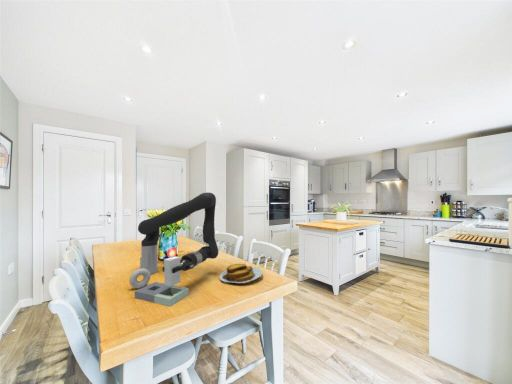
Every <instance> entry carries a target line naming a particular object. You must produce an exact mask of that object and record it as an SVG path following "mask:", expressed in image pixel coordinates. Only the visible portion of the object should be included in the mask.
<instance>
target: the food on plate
mask: <svg viewBox="0 0 512 384" xmlns="http://www.w3.org/2000/svg"><path fill="white" fill-rule="evenodd" d="M262 275H263V270H262V269H261V268H259V267H254V266H248V265H247V264H244V263H233V264H230V265H228V266H227V267H226V270H224V271H222V272H221V273H220V274H219V280H220V281H222V282H224V283H233V284H246V283H247V284H246V285H247V286H248V285H250V284H249V283H251V282H253V281H256V280H257V279H258V278H262Z"/></svg>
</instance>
